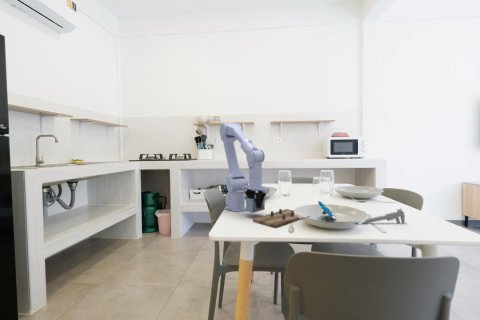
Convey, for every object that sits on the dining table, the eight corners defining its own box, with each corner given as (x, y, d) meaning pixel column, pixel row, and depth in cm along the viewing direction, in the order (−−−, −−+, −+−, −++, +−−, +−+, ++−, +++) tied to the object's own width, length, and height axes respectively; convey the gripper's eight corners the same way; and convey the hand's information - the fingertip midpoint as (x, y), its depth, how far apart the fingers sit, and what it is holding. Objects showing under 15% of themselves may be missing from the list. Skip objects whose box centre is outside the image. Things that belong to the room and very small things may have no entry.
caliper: (402, 223, 107) (403, 208, 107) (404, 224, 106) (405, 208, 105) (353, 224, 106) (353, 209, 106) (354, 225, 105) (354, 209, 105)
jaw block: (246, 211, 117) (246, 197, 116) (258, 208, 122) (258, 195, 122) (252, 212, 114) (252, 199, 113) (264, 209, 119) (264, 196, 119)
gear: (336, 219, 106) (319, 200, 110) (325, 228, 108) (308, 209, 111) (338, 216, 117) (321, 199, 120) (328, 224, 118) (312, 207, 121)
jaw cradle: (253, 221, 110) (253, 214, 110) (287, 211, 126) (287, 204, 126) (275, 228, 101) (275, 220, 101) (309, 216, 118) (309, 209, 118)
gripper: (237, 176, 120) (237, 205, 120) (261, 179, 109) (261, 211, 110) (248, 175, 124) (248, 203, 125) (272, 177, 114) (272, 208, 115)
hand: (255, 207), depth 118 cm, fingers closed on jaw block, 4 cm apart
